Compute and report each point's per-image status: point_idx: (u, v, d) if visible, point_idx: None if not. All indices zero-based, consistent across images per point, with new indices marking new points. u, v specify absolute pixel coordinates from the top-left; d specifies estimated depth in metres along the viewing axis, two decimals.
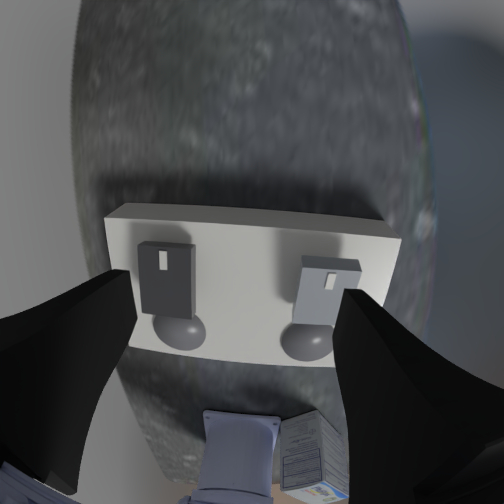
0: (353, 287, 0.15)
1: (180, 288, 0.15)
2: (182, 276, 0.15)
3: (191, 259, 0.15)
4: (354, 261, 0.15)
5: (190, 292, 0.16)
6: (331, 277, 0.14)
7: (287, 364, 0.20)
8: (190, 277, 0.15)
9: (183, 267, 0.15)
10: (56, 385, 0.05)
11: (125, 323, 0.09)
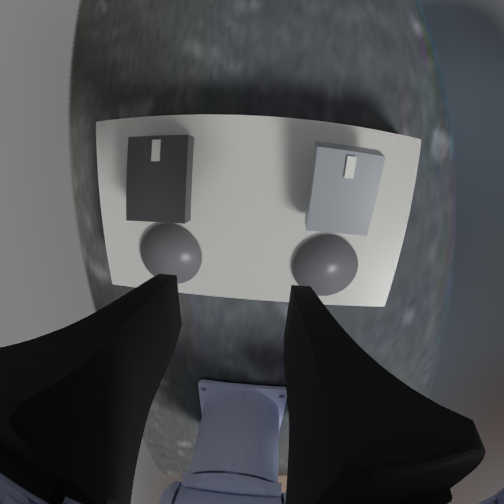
0: (376, 178, 0.12)
1: (173, 183, 0.13)
2: (176, 167, 0.13)
3: (188, 147, 0.13)
4: (374, 150, 0.12)
5: (184, 187, 0.13)
6: (351, 162, 0.12)
7: None
8: (185, 168, 0.13)
9: (178, 156, 0.13)
10: (115, 404, 0.05)
11: (172, 330, 0.09)
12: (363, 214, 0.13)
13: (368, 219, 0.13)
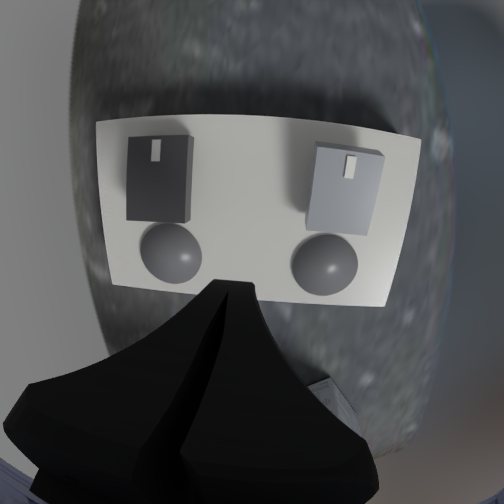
0: (376, 178, 0.12)
1: (173, 183, 0.13)
2: (176, 167, 0.13)
3: (188, 147, 0.13)
4: (374, 150, 0.12)
5: (184, 187, 0.13)
6: (351, 162, 0.12)
7: (299, 301, 0.17)
8: (185, 168, 0.13)
9: (178, 156, 0.13)
10: None
11: None
12: (363, 214, 0.13)
13: (368, 219, 0.13)
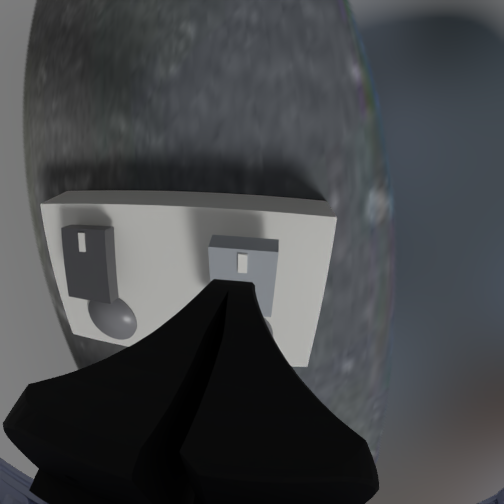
0: (271, 271, 0.13)
1: (98, 270, 0.14)
2: (98, 258, 0.14)
3: (106, 240, 0.14)
4: (273, 241, 0.13)
5: (106, 275, 0.14)
6: (243, 259, 0.13)
7: None
8: (105, 259, 0.14)
9: (99, 249, 0.14)
10: None
11: None
12: (264, 300, 0.14)
13: (269, 304, 0.14)
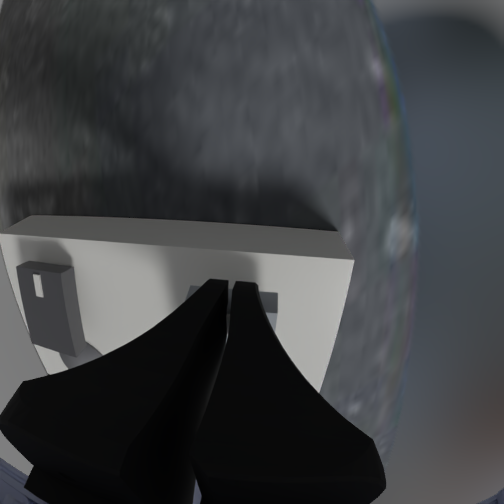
0: None
1: (58, 320, 0.11)
2: (57, 306, 0.11)
3: (63, 286, 0.10)
4: (270, 295, 0.10)
5: (68, 325, 0.11)
6: None
7: None
8: (65, 308, 0.11)
9: (57, 295, 0.10)
10: (189, 421, 0.05)
11: (223, 337, 0.09)
12: None
13: None
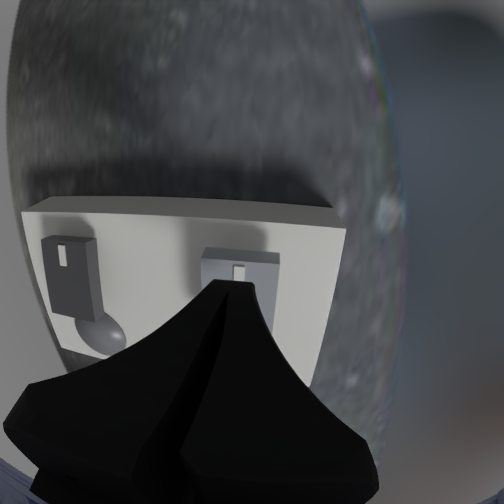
0: (272, 287, 0.12)
1: (80, 287, 0.12)
2: (80, 273, 0.12)
3: (87, 254, 0.12)
4: (273, 254, 0.12)
5: (89, 291, 0.12)
6: (240, 272, 0.12)
7: None
8: (88, 274, 0.12)
9: (80, 263, 0.12)
10: None
11: None
12: None
13: (269, 328, 0.13)
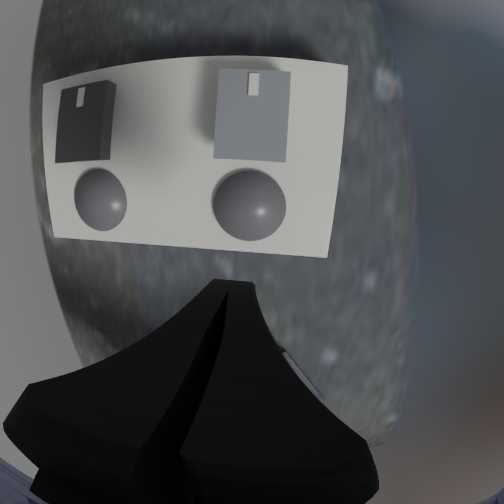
0: (284, 93, 0.11)
1: (92, 123, 0.12)
2: (95, 109, 0.12)
3: (106, 91, 0.11)
4: None
5: (101, 125, 0.12)
6: (255, 80, 0.11)
7: (226, 248, 0.16)
8: (103, 109, 0.12)
9: (97, 99, 0.11)
10: None
11: None
12: (276, 134, 0.12)
13: (283, 141, 0.12)
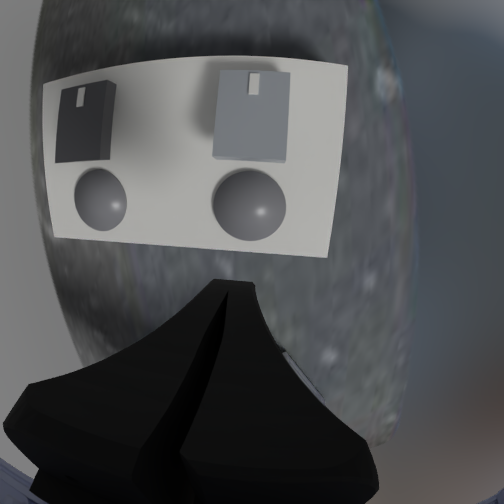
0: (284, 93, 0.11)
1: (92, 123, 0.12)
2: (95, 109, 0.12)
3: (106, 91, 0.11)
4: None
5: (101, 125, 0.12)
6: (255, 80, 0.11)
7: (226, 248, 0.16)
8: (103, 109, 0.12)
9: (97, 99, 0.11)
10: None
11: None
12: (276, 132, 0.11)
13: (283, 139, 0.11)
